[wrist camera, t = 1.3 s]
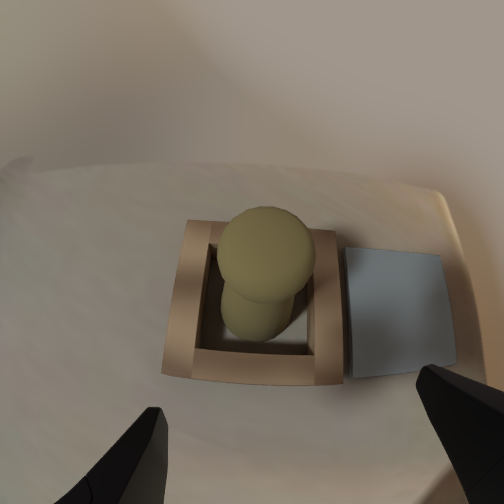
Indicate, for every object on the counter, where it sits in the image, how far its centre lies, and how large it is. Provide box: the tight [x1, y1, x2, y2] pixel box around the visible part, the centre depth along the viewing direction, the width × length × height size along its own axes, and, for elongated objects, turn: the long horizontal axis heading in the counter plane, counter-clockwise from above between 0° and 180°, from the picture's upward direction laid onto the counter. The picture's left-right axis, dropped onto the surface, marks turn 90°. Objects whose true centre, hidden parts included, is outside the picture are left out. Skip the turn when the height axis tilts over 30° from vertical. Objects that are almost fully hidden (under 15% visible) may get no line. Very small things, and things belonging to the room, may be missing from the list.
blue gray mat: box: [342, 247, 457, 378], centre depth 22 cm, size 12×12×1 cm
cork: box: [217, 207, 316, 342], centre depth 18 cm, size 6×6×11 cm
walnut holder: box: [161, 220, 343, 386], centre depth 22 cm, size 13×13×2 cm
